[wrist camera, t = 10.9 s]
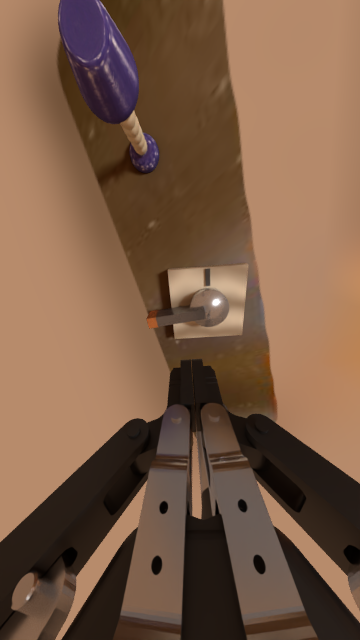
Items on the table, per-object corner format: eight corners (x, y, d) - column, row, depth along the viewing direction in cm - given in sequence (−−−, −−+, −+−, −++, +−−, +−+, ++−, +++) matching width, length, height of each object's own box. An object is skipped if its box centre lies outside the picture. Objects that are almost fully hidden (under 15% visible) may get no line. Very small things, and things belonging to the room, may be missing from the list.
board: (238, 330, 36) (242, 335, 34) (175, 334, 37) (174, 339, 35) (244, 263, 31) (249, 264, 28) (168, 268, 31) (167, 270, 29)
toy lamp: (160, 177, 25) (130, 80, 10) (130, 179, 26) (56, 86, 10) (157, 133, 23) (113, -66, 8) (124, 136, 24) (22, -56, 8)
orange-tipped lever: (225, 284, 30) (230, 289, 26) (227, 319, 33) (233, 328, 29) (146, 298, 31) (142, 305, 28) (155, 330, 34) (152, 340, 31)
